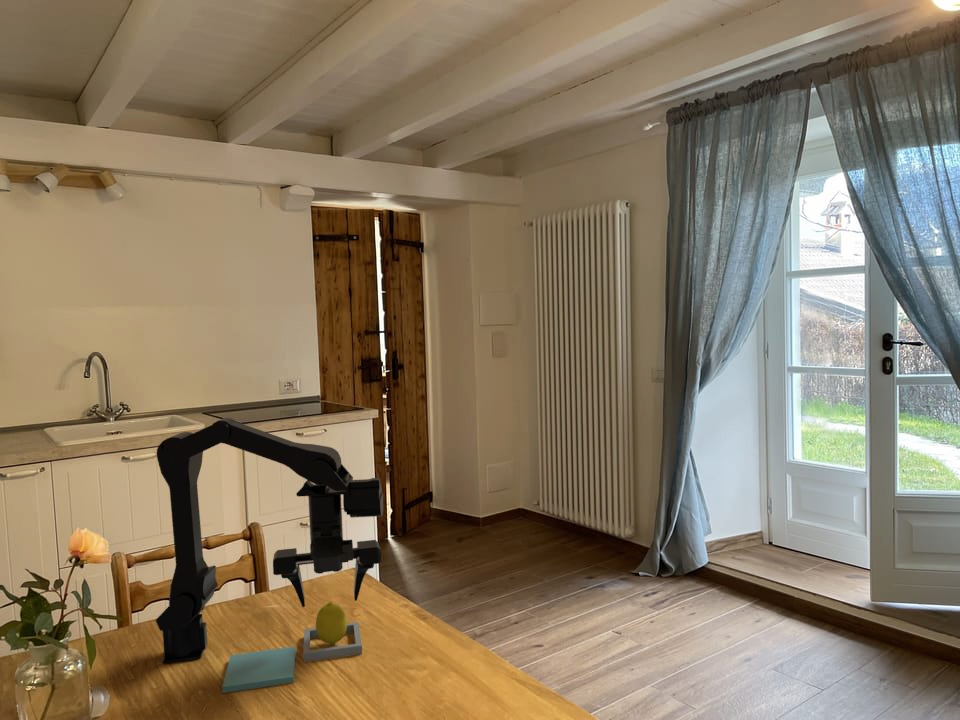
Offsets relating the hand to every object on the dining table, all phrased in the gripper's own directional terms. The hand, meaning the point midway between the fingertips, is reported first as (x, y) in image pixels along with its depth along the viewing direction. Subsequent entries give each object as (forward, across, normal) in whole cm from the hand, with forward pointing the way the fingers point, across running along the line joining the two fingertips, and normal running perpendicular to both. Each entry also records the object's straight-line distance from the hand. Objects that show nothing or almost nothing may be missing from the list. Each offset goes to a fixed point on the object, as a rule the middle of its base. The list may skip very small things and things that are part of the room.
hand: (329, 603), depth 125 cm
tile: (+8, -12, -6) cm, 15 cm away
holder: (+8, 0, 0) cm, 8 cm away
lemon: (+8, 0, 0) cm, 8 cm away
